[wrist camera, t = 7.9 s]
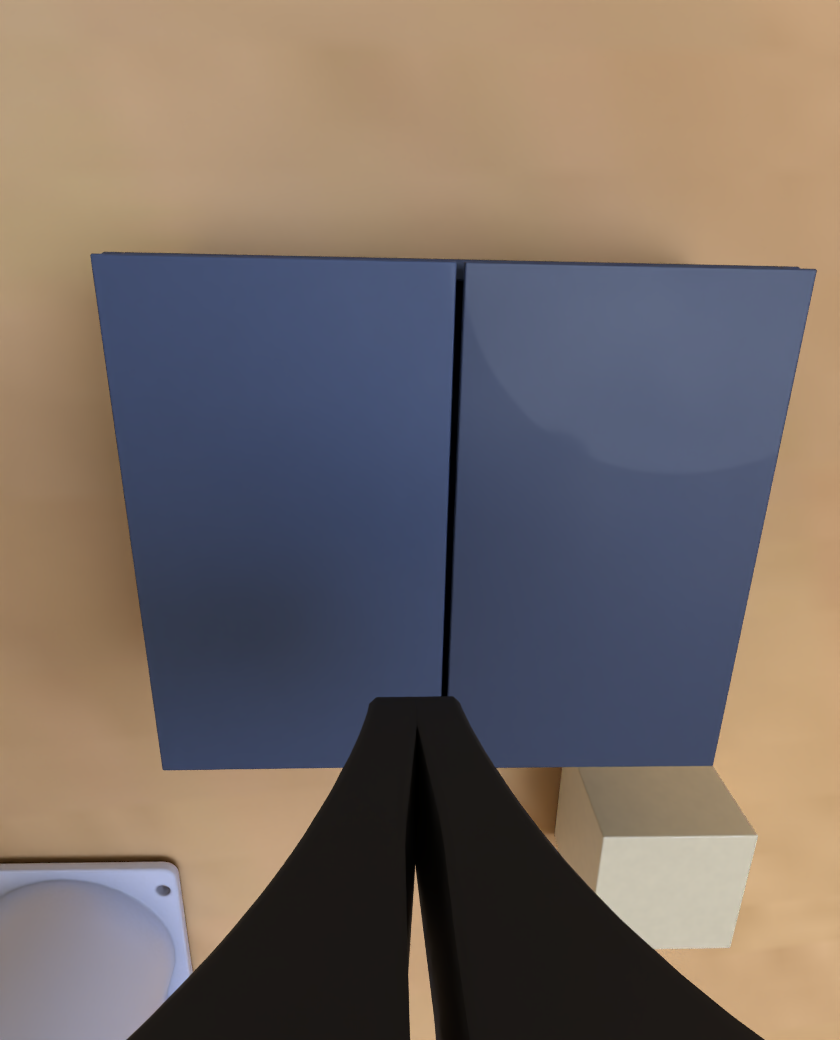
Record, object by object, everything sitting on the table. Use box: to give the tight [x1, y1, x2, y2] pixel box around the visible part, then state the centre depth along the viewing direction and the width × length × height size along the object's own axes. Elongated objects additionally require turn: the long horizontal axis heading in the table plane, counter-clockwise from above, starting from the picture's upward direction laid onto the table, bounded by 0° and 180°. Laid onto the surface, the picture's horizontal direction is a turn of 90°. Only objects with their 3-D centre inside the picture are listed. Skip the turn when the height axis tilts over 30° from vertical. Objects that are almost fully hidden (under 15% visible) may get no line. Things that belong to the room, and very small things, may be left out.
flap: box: [91, 254, 457, 770], centre depth 14 cm, size 12×7×1 cm, turn 179°
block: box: [554, 766, 758, 949], centre depth 22 cm, size 4×4×4 cm
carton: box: [102, 252, 817, 768], centre depth 17 cm, size 12×14×6 cm
